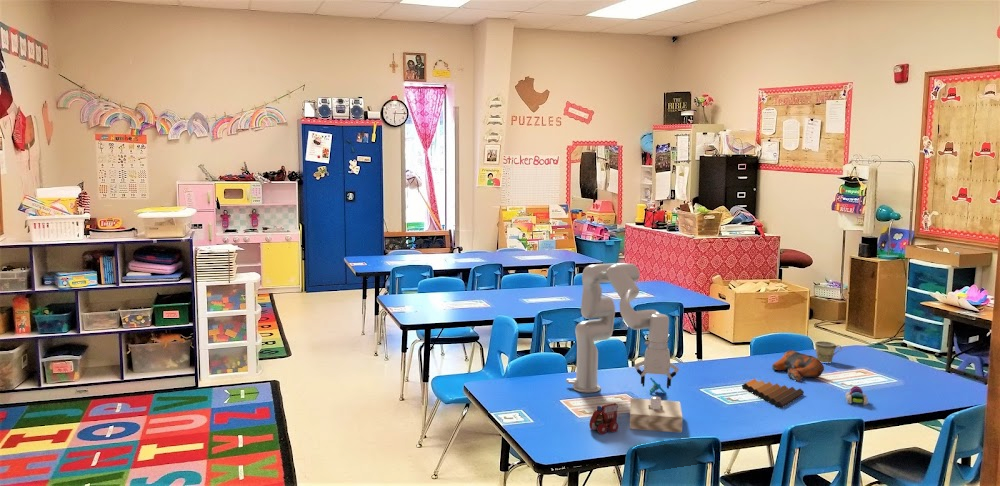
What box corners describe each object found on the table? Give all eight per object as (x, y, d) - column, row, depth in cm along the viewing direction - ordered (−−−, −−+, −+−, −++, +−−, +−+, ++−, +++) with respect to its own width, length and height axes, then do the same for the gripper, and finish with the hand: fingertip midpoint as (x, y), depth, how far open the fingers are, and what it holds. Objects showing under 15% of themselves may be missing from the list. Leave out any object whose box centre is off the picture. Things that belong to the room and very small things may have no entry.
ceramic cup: (816, 364, 400) (817, 345, 399) (812, 359, 410) (813, 340, 409) (843, 365, 398) (844, 346, 397) (837, 360, 408) (839, 342, 407)
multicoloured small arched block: (865, 400, 341) (866, 385, 340) (868, 407, 332) (869, 391, 331) (844, 398, 344) (845, 382, 343) (846, 405, 335) (847, 389, 334)
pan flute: (782, 409, 329) (803, 396, 347) (782, 402, 328) (804, 389, 347) (727, 396, 345) (750, 384, 364) (727, 389, 345) (751, 377, 363)
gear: (669, 394, 340) (653, 378, 340) (659, 403, 340) (644, 387, 341) (665, 390, 351) (650, 374, 352) (656, 399, 351) (640, 383, 352)
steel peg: (649, 423, 308) (650, 399, 307) (649, 419, 312) (650, 396, 311) (660, 424, 307) (661, 399, 306) (659, 420, 311) (660, 396, 310)
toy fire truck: (584, 430, 299) (585, 404, 298) (611, 425, 305) (612, 399, 304) (595, 436, 293) (595, 409, 292) (621, 431, 299) (622, 405, 298)
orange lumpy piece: (787, 362, 398) (760, 370, 391) (790, 340, 392) (763, 347, 386) (823, 387, 376) (795, 396, 370) (827, 364, 371) (799, 372, 365)
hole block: (629, 428, 301) (630, 413, 301) (630, 412, 321) (630, 398, 320) (681, 432, 298) (682, 417, 297) (679, 415, 317) (679, 401, 317)
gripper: (635, 345, 304) (633, 387, 306) (680, 349, 301) (678, 391, 303) (635, 341, 311) (633, 381, 313) (679, 344, 308) (677, 385, 310)
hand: (655, 386), depth 308 cm, fingers open, 9 cm apart
